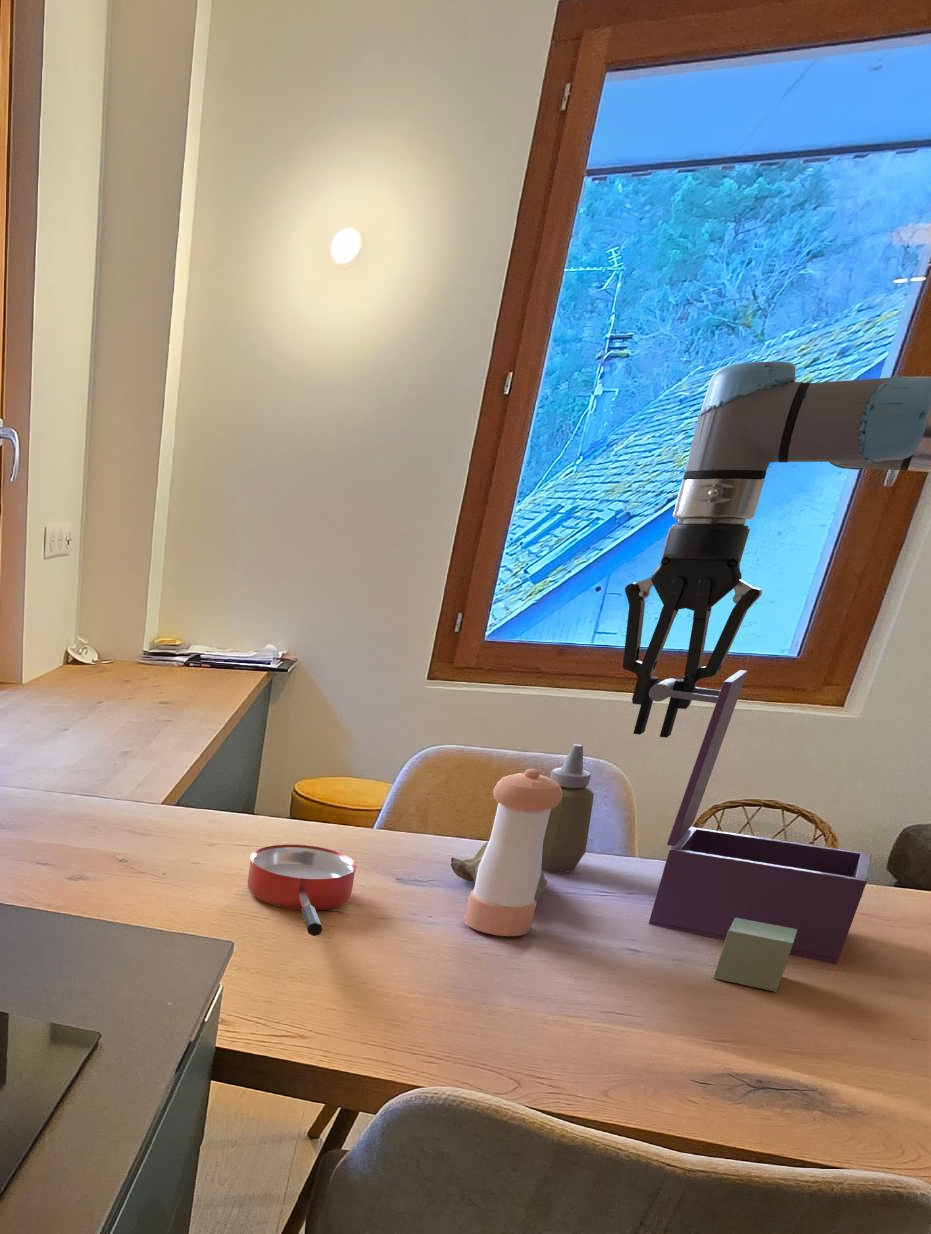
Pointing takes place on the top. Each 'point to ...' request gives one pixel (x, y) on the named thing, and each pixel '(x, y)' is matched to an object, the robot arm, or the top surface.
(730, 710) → the lid
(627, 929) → the top surface
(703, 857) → the box
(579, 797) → the squeeze bottle
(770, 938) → the block
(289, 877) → the frying pan
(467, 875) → the ceramic sculpture
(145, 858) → the top surface
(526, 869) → the salt shaker
